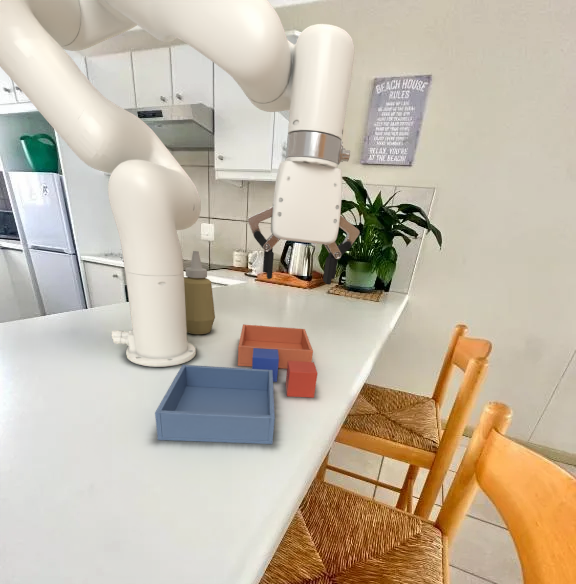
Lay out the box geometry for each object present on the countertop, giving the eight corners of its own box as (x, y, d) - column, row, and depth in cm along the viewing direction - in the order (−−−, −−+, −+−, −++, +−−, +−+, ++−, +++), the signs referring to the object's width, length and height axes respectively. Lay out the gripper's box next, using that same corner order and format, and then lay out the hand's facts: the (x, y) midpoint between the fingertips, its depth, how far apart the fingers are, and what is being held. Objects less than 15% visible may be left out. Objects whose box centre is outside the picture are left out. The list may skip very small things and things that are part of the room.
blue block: (251, 380, 57) (252, 357, 55) (252, 370, 61) (253, 347, 59) (276, 382, 57) (278, 358, 55) (276, 371, 61) (278, 349, 59)
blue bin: (157, 440, 40) (154, 412, 38) (183, 387, 52) (182, 364, 50) (272, 444, 41) (274, 417, 39) (270, 391, 54) (272, 369, 52)
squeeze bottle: (221, 330, 80) (221, 252, 72) (203, 339, 73) (201, 254, 65) (193, 324, 82) (190, 248, 74) (173, 332, 75) (167, 249, 67)
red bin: (237, 365, 62) (238, 346, 60) (242, 341, 74) (242, 324, 73) (310, 370, 63) (313, 351, 61) (303, 345, 76) (305, 328, 74)
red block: (287, 396, 53) (289, 371, 51) (285, 384, 57) (287, 360, 55) (314, 397, 53) (317, 373, 51) (310, 385, 57) (313, 362, 55)
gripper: (363, 167, 50) (343, 281, 57) (250, 150, 47) (245, 272, 55) (380, 159, 43) (355, 289, 51) (251, 139, 41) (244, 279, 48)
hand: (298, 280), depth 53 cm, fingers open, 9 cm apart
